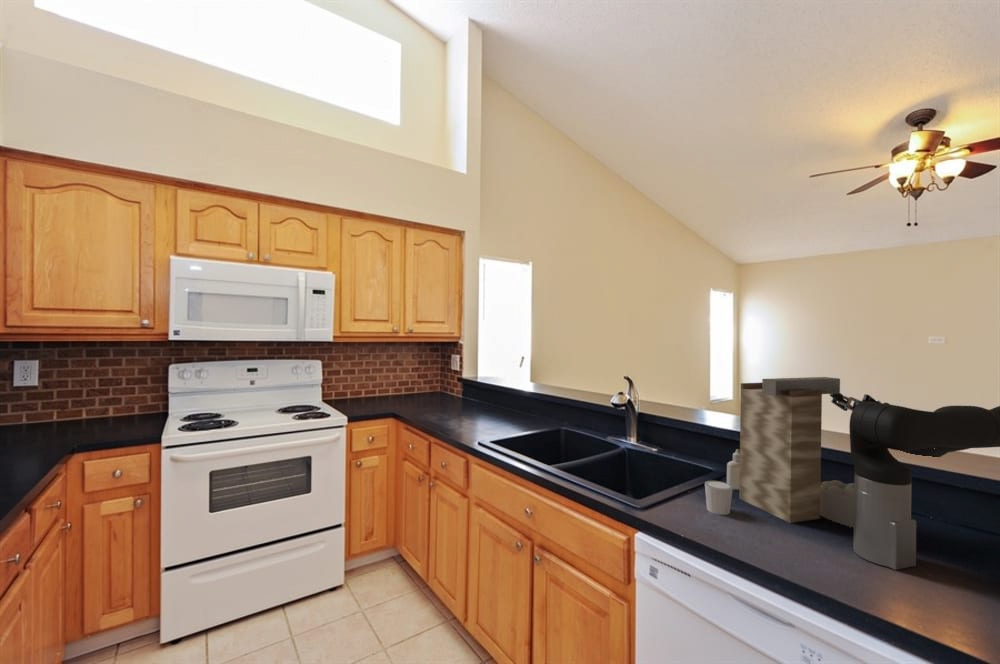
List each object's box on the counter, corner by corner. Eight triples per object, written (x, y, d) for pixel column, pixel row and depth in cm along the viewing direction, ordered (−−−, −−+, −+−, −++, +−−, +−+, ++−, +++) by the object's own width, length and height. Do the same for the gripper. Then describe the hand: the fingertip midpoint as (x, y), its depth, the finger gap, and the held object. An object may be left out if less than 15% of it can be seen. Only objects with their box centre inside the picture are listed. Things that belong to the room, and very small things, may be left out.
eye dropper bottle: (747, 492, 130) (748, 452, 130) (726, 488, 133) (727, 450, 132) (746, 487, 134) (747, 448, 134) (726, 484, 136) (726, 446, 136)
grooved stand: (820, 518, 112) (821, 390, 112) (790, 522, 109) (791, 391, 109) (766, 495, 128) (768, 382, 127) (739, 498, 125) (740, 383, 125)
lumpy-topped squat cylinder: (858, 531, 105) (859, 496, 105) (805, 510, 118) (805, 478, 117) (886, 525, 109) (886, 491, 109) (831, 505, 121) (831, 474, 121)
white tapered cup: (730, 518, 112) (730, 491, 112) (701, 511, 116) (701, 485, 116) (734, 509, 117) (735, 483, 117) (707, 503, 122) (707, 478, 122)
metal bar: (839, 393, 116) (840, 378, 116) (775, 396, 110) (775, 380, 110) (825, 391, 120) (825, 376, 120) (762, 393, 114) (762, 378, 114)
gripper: (907, 438, 117) (870, 412, 113) (851, 426, 131) (817, 402, 127) (917, 414, 118) (881, 386, 114) (860, 404, 132) (827, 379, 128)
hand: (847, 394), depth 120 cm, fingers open, 8 cm apart
